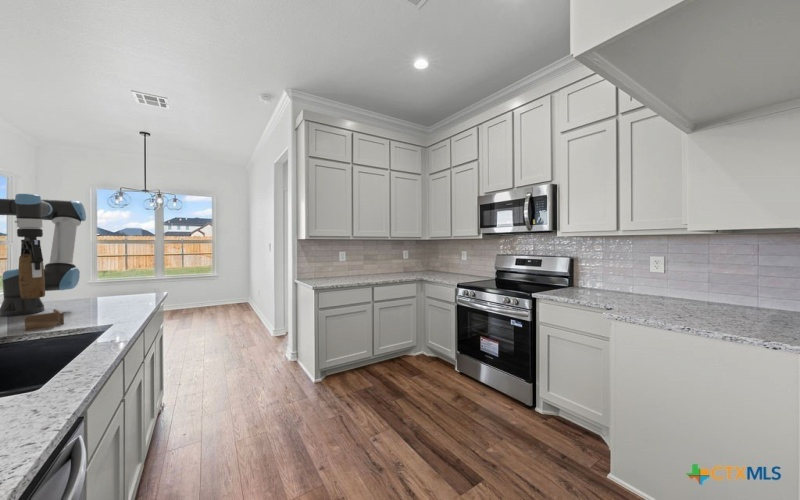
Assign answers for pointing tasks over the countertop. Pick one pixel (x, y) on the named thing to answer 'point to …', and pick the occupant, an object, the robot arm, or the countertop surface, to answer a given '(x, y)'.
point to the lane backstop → (40, 321)
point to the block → (30, 279)
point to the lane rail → (59, 316)
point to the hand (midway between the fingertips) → (32, 276)
